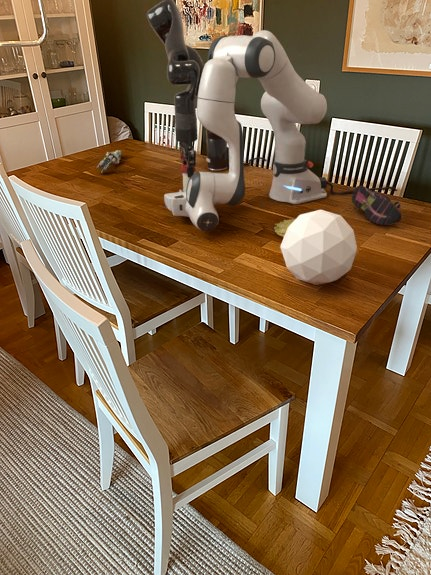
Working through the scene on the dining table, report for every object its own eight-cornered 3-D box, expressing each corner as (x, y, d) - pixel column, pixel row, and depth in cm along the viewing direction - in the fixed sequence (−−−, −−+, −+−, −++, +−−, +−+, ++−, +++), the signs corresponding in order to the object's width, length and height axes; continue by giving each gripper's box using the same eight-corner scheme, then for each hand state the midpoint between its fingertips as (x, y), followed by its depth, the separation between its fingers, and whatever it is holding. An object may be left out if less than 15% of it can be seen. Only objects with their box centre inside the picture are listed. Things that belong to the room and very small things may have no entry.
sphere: (293, 297, 126) (258, 236, 124) (350, 261, 128) (317, 201, 126) (319, 302, 107) (278, 231, 105) (385, 260, 109) (347, 189, 107)
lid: (189, 168, 162) (189, 163, 161) (198, 171, 159) (198, 166, 158) (178, 171, 159) (178, 166, 158) (187, 174, 156) (186, 169, 155)
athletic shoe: (393, 214, 141) (421, 210, 145) (357, 172, 153) (384, 169, 157) (376, 239, 150) (403, 235, 154) (344, 197, 161) (370, 194, 166)
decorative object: (286, 211, 157) (342, 219, 147) (286, 217, 158) (341, 226, 148) (260, 233, 142) (319, 243, 133) (260, 240, 144) (319, 251, 134)
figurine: (101, 154, 197) (119, 141, 223) (91, 167, 200) (110, 152, 227) (114, 165, 199) (130, 151, 225) (103, 178, 203) (121, 162, 229)
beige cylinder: (190, 204, 169) (188, 166, 161) (198, 208, 167) (196, 169, 159) (182, 208, 167) (179, 169, 159) (189, 211, 164) (187, 171, 156)
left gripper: (170, 122, 155) (173, 170, 165) (180, 131, 144) (183, 182, 153) (191, 120, 157) (193, 167, 166) (202, 129, 146) (204, 179, 155)
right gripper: (225, 192, 153) (215, 179, 164) (167, 199, 149) (161, 185, 160) (226, 209, 156) (216, 195, 168) (168, 216, 152) (162, 202, 164)
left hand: (188, 174), depth 160 cm, fingers closed on lid, 5 cm apart
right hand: (188, 190), depth 164 cm, fingers closed on beige cylinder, 4 cm apart
